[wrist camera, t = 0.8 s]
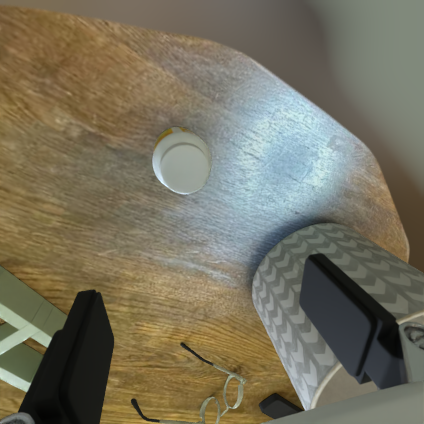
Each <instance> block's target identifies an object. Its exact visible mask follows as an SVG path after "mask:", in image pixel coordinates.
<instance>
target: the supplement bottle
mask: <svg viewBox="0 0 424 424" xmlns="http://www.w3.org/2000/svg"><path fill="white" fill-rule="evenodd" d="M152 163H153V169H154V172H155V174H156V176H157V178H158V179H159V180H160V182H161V183H162V184H164V185H165V186H166V187H168V188H169V189H171V190H172V191H174V192H176V193H180V194H190V193H194V192H196V191H198V190H199V189H201V188H202V187H203V186H204V185H205V183H206V182H207V180H208V178H209V174H210V170H211V165H212V159H211V154H210V151H209V148H208V147H207V145H206V144H205V142H204V141H203V140H202V139H201V138H200V137H198V136H197V135H196V134H194V133H193V132H192V131H190V130H189V129H186V128H183V127H171V128H169V129H167V130H165V131H163V132H162V133H161V134H160V136H159V137H158V138H157V140H156V143H155V146H154V153H153V160H152Z"/></svg>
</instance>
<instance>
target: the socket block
mask: <svg viewBox="0 0 424 424" xmlns="http://www.w3.org/2000/svg"><path fill="white" fill-rule="evenodd" d="M67 317H68V316H67V315H66V314H64V313H63V312H62V311H60V310H59V309H58V308H56V307H55V306H53V305H52V304H51V303H49V302H48V301H47V300H45V299H44V298H43V297H42V296H40V295H39V294H38V293H36V292H35V291H34V290H32V289H31V288H30V287H28V286H27V285H26V284H24V283H23V282H22V281H20V280H19V279H18V278H16V277H15V276H14V275H12V274H11V273H10V272H8V271H7V270H5V269H4V268H3V267H1V266H0V318H1V319H3V320H5V321H6V323H5V324H3V325H1V326H0V379H2V380H4V381H6V382H8V383H10V384H11V385H13V386H15V387H17V388H19V389H22V390H24V391H25V392H27V391H28V389H29V387H30V385H31V382H32V380H33V378H34V376H35V374H36V372H37V369H38V367H39V365H40V363H41V361H42V358H43V356H44V355H42V354H40V353H38V352H37V351H35V350H34V349H32V348H30V347H29V346H27V345H25V344H24V343H22V341H24V340H26V339H27V338H29V337H31V338H33V339H34V340H36V341H38V342H39V343H41V344H42V345H44V346H45V347H47V348H48V345H49V343H50V341H51V339H52V337H53V335H54V333H55V332H56V331H57V330H61V329H62V328H63V326H64V324H65V322H66V319H67Z"/></svg>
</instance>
